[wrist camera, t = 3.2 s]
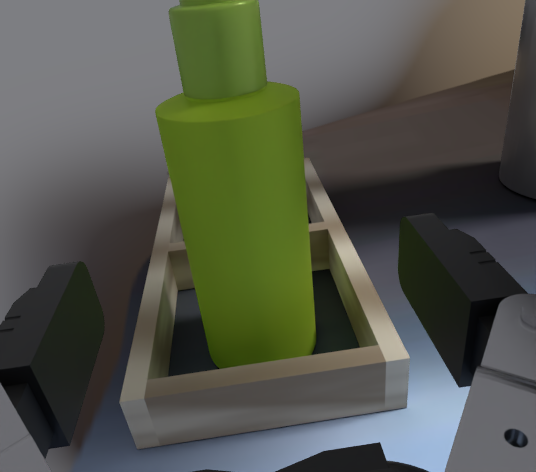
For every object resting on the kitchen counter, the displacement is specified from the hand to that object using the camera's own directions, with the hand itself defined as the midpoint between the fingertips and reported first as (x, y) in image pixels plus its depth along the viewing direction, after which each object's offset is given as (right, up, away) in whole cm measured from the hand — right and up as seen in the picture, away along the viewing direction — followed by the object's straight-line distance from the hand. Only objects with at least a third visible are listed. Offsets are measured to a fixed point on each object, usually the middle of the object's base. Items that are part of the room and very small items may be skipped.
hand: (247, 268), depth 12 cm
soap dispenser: (0, -5, +14) cm, 15 cm away
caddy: (0, -2, +19) cm, 19 cm away
